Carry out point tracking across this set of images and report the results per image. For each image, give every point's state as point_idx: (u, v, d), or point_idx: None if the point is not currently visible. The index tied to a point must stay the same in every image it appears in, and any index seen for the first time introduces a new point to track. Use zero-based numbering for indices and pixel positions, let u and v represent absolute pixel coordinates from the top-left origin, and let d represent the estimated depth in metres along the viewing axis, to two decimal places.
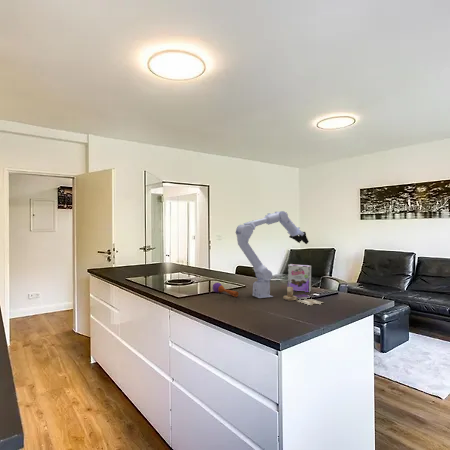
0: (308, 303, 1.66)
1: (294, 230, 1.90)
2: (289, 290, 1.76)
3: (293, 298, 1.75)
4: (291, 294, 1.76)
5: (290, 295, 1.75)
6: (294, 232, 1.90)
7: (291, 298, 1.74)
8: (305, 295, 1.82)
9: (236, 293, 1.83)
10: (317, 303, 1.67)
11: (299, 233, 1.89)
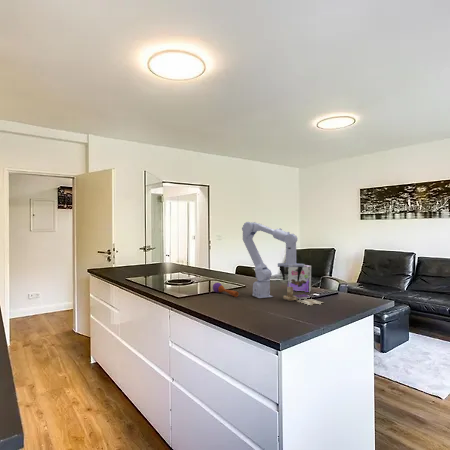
0: (308, 303, 1.66)
1: None
2: (289, 290, 1.76)
3: (293, 298, 1.75)
4: (291, 294, 1.76)
5: (290, 295, 1.75)
6: None
7: (291, 298, 1.74)
8: (305, 295, 1.82)
9: (236, 293, 1.82)
10: (317, 303, 1.67)
11: None
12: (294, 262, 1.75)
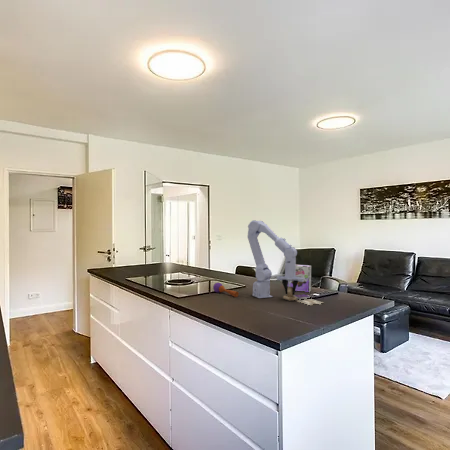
0: (308, 303, 1.66)
1: None
2: (289, 290, 1.76)
3: (293, 298, 1.75)
4: (291, 294, 1.76)
5: (290, 295, 1.75)
6: None
7: (291, 298, 1.74)
8: (305, 295, 1.82)
9: (236, 293, 1.82)
10: (317, 303, 1.67)
11: None
12: (293, 276, 1.75)
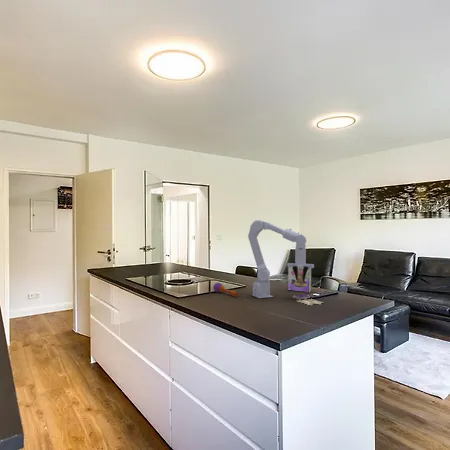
0: (308, 303, 1.66)
1: None
2: (299, 276, 1.79)
3: (303, 284, 1.78)
4: (301, 280, 1.79)
5: (300, 281, 1.79)
6: None
7: (301, 284, 1.78)
8: (305, 295, 1.82)
9: (236, 293, 1.82)
10: (317, 303, 1.67)
11: None
12: (303, 262, 1.78)
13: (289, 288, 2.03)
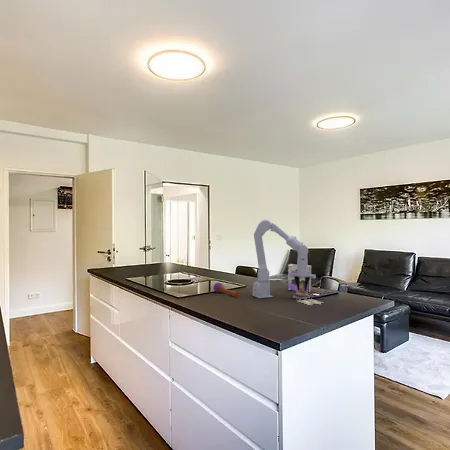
0: (308, 303, 1.66)
1: None
2: (301, 286, 1.80)
3: (305, 294, 1.79)
4: (303, 290, 1.80)
5: (302, 291, 1.80)
6: None
7: (303, 294, 1.79)
8: None
9: (236, 293, 1.82)
10: (317, 303, 1.67)
11: None
12: (305, 273, 1.79)
13: (289, 288, 2.03)
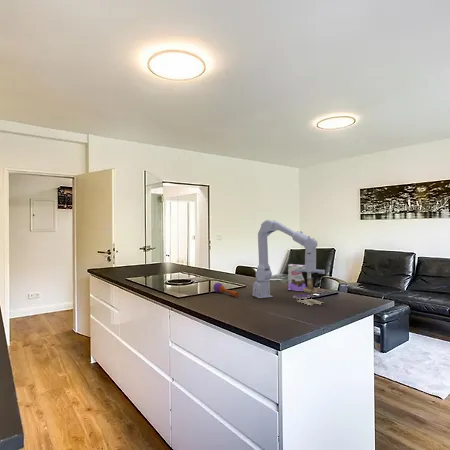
0: (308, 303, 1.66)
1: None
2: (309, 282, 1.69)
3: (314, 290, 1.69)
4: (311, 286, 1.69)
5: (310, 287, 1.69)
6: None
7: (311, 290, 1.68)
8: (305, 295, 1.82)
9: (236, 293, 1.82)
10: (317, 303, 1.67)
11: None
12: (314, 268, 1.69)
13: (289, 288, 2.03)
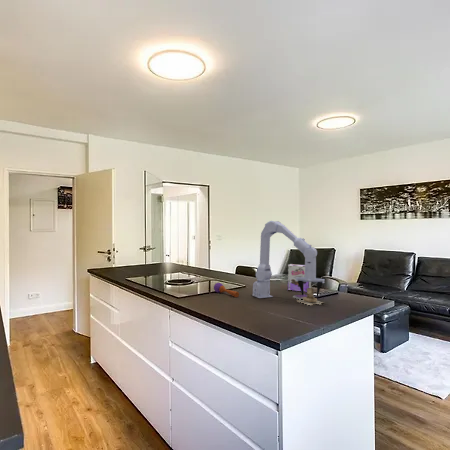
0: (308, 303, 1.66)
1: None
2: (309, 291, 1.69)
3: (313, 300, 1.69)
4: (311, 295, 1.69)
5: (310, 296, 1.69)
6: None
7: (311, 300, 1.68)
8: (305, 295, 1.82)
9: (236, 293, 1.82)
10: (317, 303, 1.67)
11: None
12: (313, 277, 1.69)
13: (289, 288, 2.03)
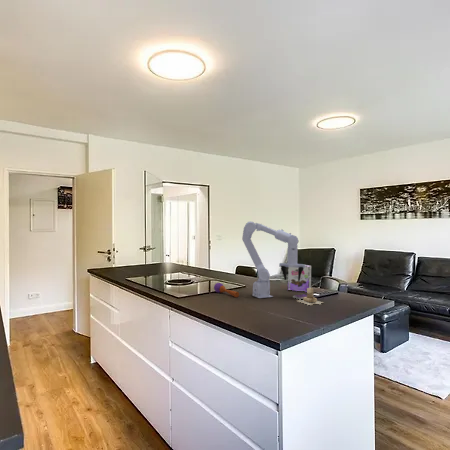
0: (308, 303, 1.66)
1: None
2: (309, 291, 1.69)
3: (313, 300, 1.69)
4: (311, 295, 1.69)
5: (310, 296, 1.69)
6: None
7: (311, 300, 1.68)
8: (305, 295, 1.82)
9: (236, 293, 1.82)
10: (317, 303, 1.67)
11: None
12: (295, 262, 1.81)
13: (289, 288, 2.03)
